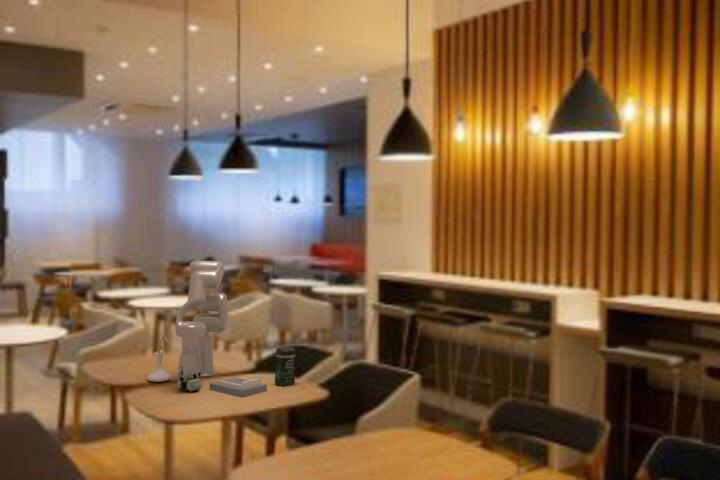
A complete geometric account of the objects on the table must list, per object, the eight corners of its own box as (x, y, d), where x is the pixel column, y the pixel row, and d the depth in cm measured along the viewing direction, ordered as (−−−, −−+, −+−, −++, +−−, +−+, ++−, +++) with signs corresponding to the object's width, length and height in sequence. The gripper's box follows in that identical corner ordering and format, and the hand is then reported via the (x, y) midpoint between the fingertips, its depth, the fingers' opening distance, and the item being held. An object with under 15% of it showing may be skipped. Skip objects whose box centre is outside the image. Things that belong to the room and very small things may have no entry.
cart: (177, 390, 343) (177, 375, 343) (187, 387, 348) (187, 373, 348) (191, 393, 337) (191, 378, 337) (201, 391, 342) (201, 376, 342)
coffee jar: (280, 387, 354) (281, 349, 354) (272, 383, 361) (273, 346, 360) (297, 384, 361) (298, 347, 360) (288, 381, 367) (289, 344, 366)
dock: (209, 389, 346) (209, 376, 346) (234, 383, 359) (234, 371, 359) (242, 397, 333) (242, 384, 333) (266, 390, 346) (267, 378, 346)
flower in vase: (167, 383, 355) (168, 332, 355) (144, 383, 356) (144, 332, 355) (174, 377, 368) (175, 328, 368) (152, 377, 369) (152, 328, 368)
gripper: (198, 347, 351) (198, 384, 352) (170, 352, 337) (169, 390, 338) (209, 349, 347) (208, 386, 347) (180, 354, 333) (180, 393, 334)
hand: (189, 388), depth 343 cm, fingers closed on cart, 6 cm apart
